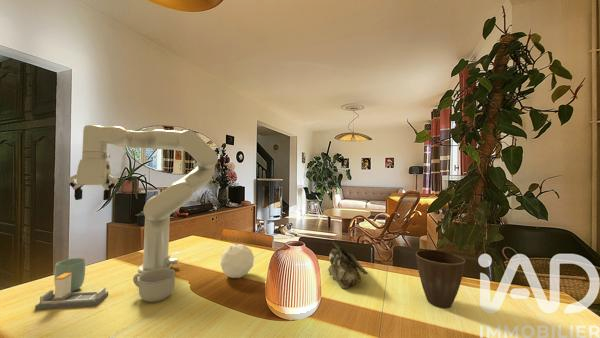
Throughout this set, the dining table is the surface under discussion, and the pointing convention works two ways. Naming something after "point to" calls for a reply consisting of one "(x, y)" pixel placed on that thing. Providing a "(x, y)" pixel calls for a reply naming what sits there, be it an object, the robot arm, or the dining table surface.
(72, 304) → the grey tray
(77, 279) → the cup
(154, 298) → the teacup
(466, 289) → the dining table surface
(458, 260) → the plant pot
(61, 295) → the fader tab
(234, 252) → the geodesic sphere
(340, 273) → the hollow geode rock
